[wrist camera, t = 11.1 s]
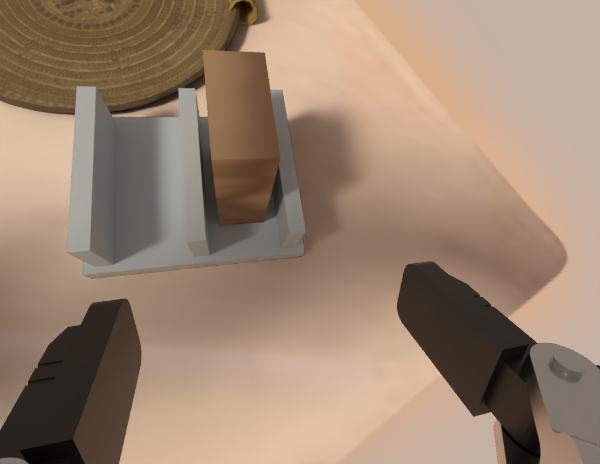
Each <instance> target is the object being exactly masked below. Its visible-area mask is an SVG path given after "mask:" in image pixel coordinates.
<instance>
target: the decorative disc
mask: <svg viewBox="0 0 600 464" xmlns="http://www.w3.org/2000/svg"><path fill="white" fill-rule="evenodd" d="M257 16H258V10H257V8H256V6H255V1H254V0H0V101H3V102H6V103H8V104H11V105H15V106H19V107H23V108H27V109H31V110H34V111H42V112H56V113H73V114H75V107H76V90H77V86H85V87H96V88H97V90H98V91H99V93H100V95H101V97H102V99H103V101H104V102H105V104H106V106H107V108H108V110H109V112H111V111H119V110H126V109H132V108H139V107H142V106H144V105H147V104H149V103H151V102H154V101H156V100H159V99H161V98H164V97H166V96H168V95H171V94H173V93H176V92H178V88H184V87H186V86H187V85H189V84H190V83H192V82H193V81H194V80H196V79H197V78H199V77H200V76H202V75H203V74H204V61H203V50H215V51H225V50H226V48H227V46H228V45H229V43H230V41H231V40H232V38H233V36H234V33H235V30H236V26H237V25H249V26H251V25H252V24H253V23H254V22H255V20H256V19H257Z"/></svg>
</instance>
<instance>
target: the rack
mask: <svg viewBox="0 0 600 464" xmlns="http://www.w3.org/2000/svg"><path fill="white" fill-rule="evenodd" d="M178 91H179V110H180V117H112V115H111V113H110V112H109V110H108V108H107V106H106V104H105V102H104V101H103V99H102V97H101V95H100V93H99V91H98V90H97V88H96V87H85V86H77V90H76V107H75V124H74V141H73V158H72V175H71V192H70V209H69V227H68V244H67V253H69V254H71V255H73V256H75V257H77V258H78V259H80V260H82V261H83V275H84V276H87V277H89V278H91V279H93V278H103V277H112V276H122V275H131V274H140V273H150V272H159V271H169V270H178V269H188V268H197V267H206V266H216V265H225V264H235V263H244V262H253V261H263V260H272V259H282V258H291V257H301V256H302V255H303V254H304V252H305V251H304V244H303V238H302V236H303V235H304V234H305V232H306V229H305V223H304V217H303V211H302V205H301V199H300V193H299V187H298V181H297V175H296V169H295V163H294V157H293V151H292V145H291V139H290V133H289V126H288V120H287V114H286V108H285V102H284V96H283V90H270V92H271V99H272V105H273V112H274V119H275V125H276V132H277V138H278V145H279V152H280V161H279V165H278V169H277V173H276V177H275V180H274V184H273V188H272V192H271V196H270V200H269V203H268V207H267V211H266V215H265V219H264V222H262V223H249V224H236V225H223V226H219V218H218V210H217V201H216V193H215V185H214V177H213V168H212V160H211V148H210V135H209V123H208V117H199V110H198V104H197V97H196V91H195V88H178Z"/></svg>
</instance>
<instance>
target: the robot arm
mask: <svg viewBox="0 0 600 464" xmlns="http://www.w3.org/2000/svg"><path fill="white" fill-rule="evenodd" d="M397 310H398V315H399V318H400V320H401V322H402V323H403V325H404V326H405V327H406V329H407V330H408V331H409V333H410V334H411V335H412V336H413V338H414V339H415V340H416V342H417V343H418V344H419V346H420V347H421V348H422V350H423V351H424V352H425V354H426V355H427V356H428V357H429V359H430V360H431V361H432V363H433V364H434V365H435V367H436V368H437V369H438V371H439V372H440V373H441V375H442V376H443V377H444V378H445V380H446V381H447V382H448V383H449V385H450V386H451V387H452V389H453V390H454V392H455V393H456V394H457V395H458V397H459V398H460V399H461V401H462V402H463V403H464V405H465V406H466V407H467V409H468V410H469V411H470V413H471V414H472V415H473V416H478V415H482V414H485V413H489V412H492V414H493V415H494V416H495V417H496V421H495V423H494V437H495V444H496V452H497V461H498V464H600V366H598V365H594V364H593V363H592V362H591V361H590V360H588V359H587V358H585V357H584V356H582V355H580V354H579V353H577V352H575V351H573V350H571V349H569V348H566V347H563V346H560V345H557V344H552V343H536V342H535V341H534V340H533V339H532V338H531V337H529V336H528V335H527V334H526V333H525V332H523V331H522V330H521V329H520V328H519V327H517V326H516V325H515V324H514V323H513V322H511V321H510V320H509V319H508V318H507V317H506V316H504V315H503V314H502V313H501V312H500V311H498V310H497V309H496V308H495V307H491V304H490V303H489V302H488V301H486V300H485V299H484V298H483V297H480V295H479V294H478V293H477V292H476V291H474V290H473V289H472V288H471V287H470V286H469V285H467V284H466V283H464V282H462V281H460V280H458V279H456V278H454V277H452V276H450V275H448V274H447V273H446V272H445V271H444V270H443V269H441V268H440V267H439V266H438V265H437V264H435V263H434V262H431V261H430V262H422V263H414V264H408V265H407V266H406V267H405V269H404V273H403V278H402V283H401V288H400V292H399V297H398V302H397ZM140 366H141V345H140V340H139V336H138V332H137V329H136V325H135V321H134V317H133V314H132V310H131V306H130V303H129V301H128V300H127V299H119V300H111V301H103V302H95V303H92V304H91V305H90V307H89V309H88V311H87V313H86V315H85V317H84V319H83V321H82V323H81V325H78V326H71V327H68V328H66V329H65V330H64V331H63V332H62V333H61V334H60V335H59V336H58V337H57V338H56V339H55V340H53V341H52V342H51V343H50V344H49V345H48V347H47V349H46V351H45V353H44V354H43V356H42V358H41V360H40V361H39V363H38V368H35V370H34V372H33V374H32V375H31V377H30V379H29V381H28V386H25V388H24V390H23V391H22V393H21V395H20V397H19V398H18V400H17V402H16V404H15V405H14V407H13V409H12V411H11V412H10V414H9V416H8V418H7V419H6V421H5V423H4V425H3V427H2V428H1V430H0V464H119V461H120V456H121V452H122V447H123V443H124V438H125V434H126V429H127V425H128V420H129V416H130V411H131V407H132V402H133V398H134V393H135V389H136V384H137V380H138V375H139V371H140Z"/></svg>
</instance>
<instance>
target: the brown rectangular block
mask: <svg viewBox="0 0 600 464" xmlns="http://www.w3.org/2000/svg"><path fill="white" fill-rule="evenodd" d="M203 61H204V73H205V86H206V98H207V111H208V123H209V135H210V148H211V160H212V168H213V177H214V185H215V193H216V201H217V210H218V218H219V226H223V225H236V224H249V223H262V222H264V219H265V215H266V211H267V207H268V203H269V200H270V196H271V192H272V188H273V184H274V180H275V177H276V173H277V169H278V165H279V161H280V152H279V145H278V138H277V132H276V125H275V119H274V112H273V105H272V99H271V92H270V85H269V79H268V72H267V65H266V59H265V53H260V52H237V51H215V50H203Z"/></svg>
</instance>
